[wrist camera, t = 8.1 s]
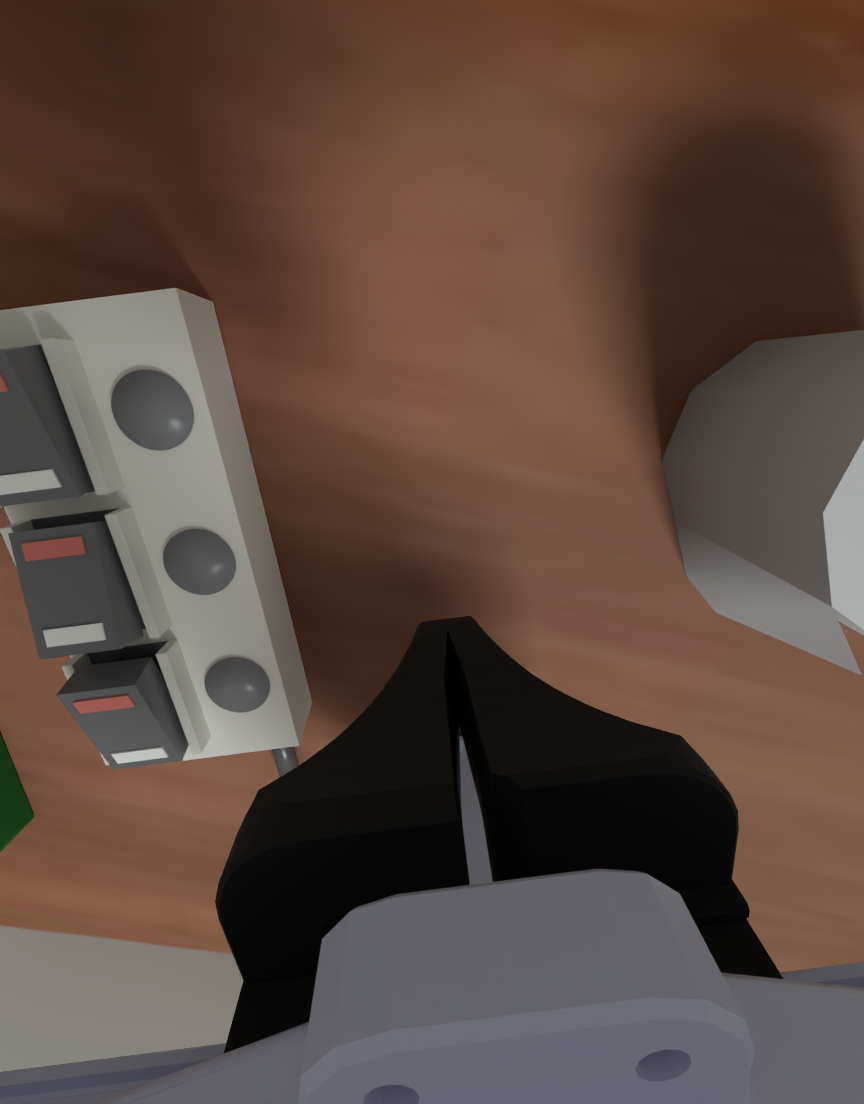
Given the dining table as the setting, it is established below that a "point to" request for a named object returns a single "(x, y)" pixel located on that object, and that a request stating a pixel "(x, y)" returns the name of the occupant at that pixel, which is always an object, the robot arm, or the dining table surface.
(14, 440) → the rocker
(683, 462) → the toilet tissue
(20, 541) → the rocker
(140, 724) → the rocker
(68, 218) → the dining table surface
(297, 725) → the switch panel
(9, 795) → the milk carton
